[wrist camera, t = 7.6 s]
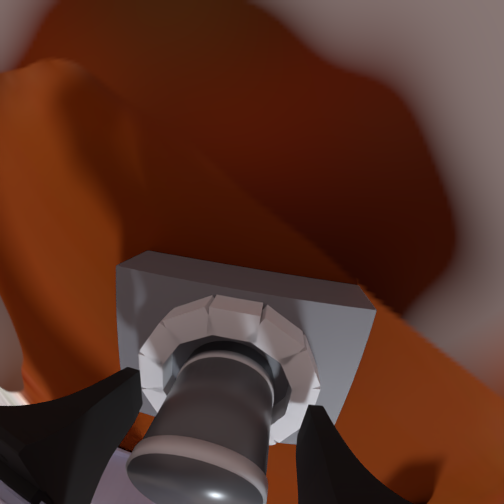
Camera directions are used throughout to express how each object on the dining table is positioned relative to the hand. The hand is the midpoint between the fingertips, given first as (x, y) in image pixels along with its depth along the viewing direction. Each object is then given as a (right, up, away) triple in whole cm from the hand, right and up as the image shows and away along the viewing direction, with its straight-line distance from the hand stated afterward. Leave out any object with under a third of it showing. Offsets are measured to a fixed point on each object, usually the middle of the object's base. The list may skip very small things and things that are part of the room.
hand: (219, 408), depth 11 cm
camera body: (+1, +1, +6) cm, 6 cm away
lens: (0, 0, +2) cm, 3 cm away
